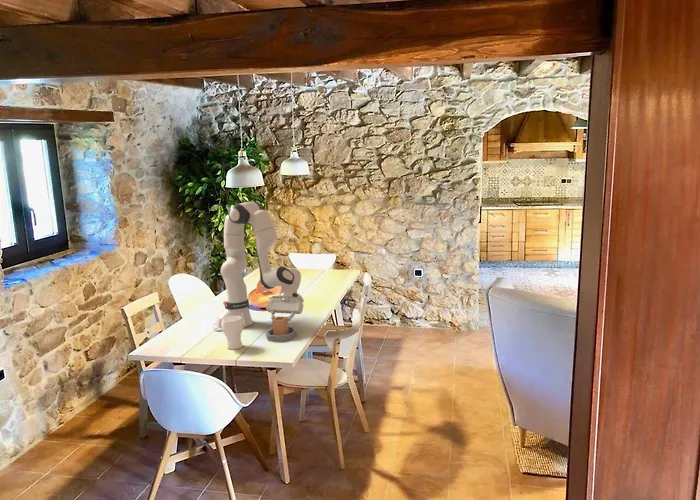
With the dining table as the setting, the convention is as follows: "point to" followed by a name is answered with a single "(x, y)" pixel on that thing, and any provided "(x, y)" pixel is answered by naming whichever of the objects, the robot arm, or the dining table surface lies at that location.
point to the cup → (232, 331)
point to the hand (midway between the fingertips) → (280, 319)
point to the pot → (280, 326)
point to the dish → (281, 338)
